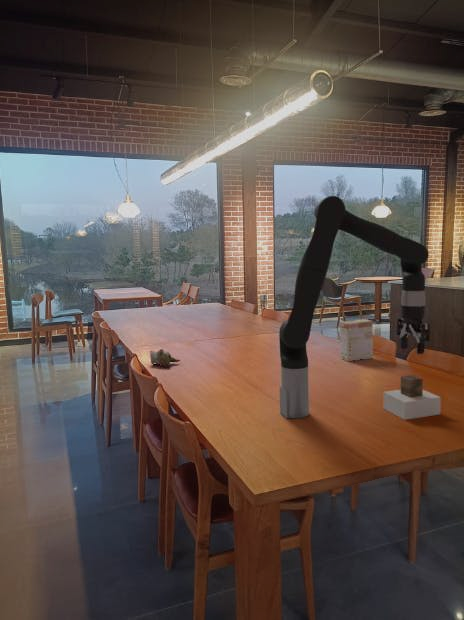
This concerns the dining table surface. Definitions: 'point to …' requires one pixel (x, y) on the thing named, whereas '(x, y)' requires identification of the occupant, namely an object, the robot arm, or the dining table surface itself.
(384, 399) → the block
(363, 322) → the coffeecake box
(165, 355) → the ceramic sculpture
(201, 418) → the dining table surface
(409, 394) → the walnut block
